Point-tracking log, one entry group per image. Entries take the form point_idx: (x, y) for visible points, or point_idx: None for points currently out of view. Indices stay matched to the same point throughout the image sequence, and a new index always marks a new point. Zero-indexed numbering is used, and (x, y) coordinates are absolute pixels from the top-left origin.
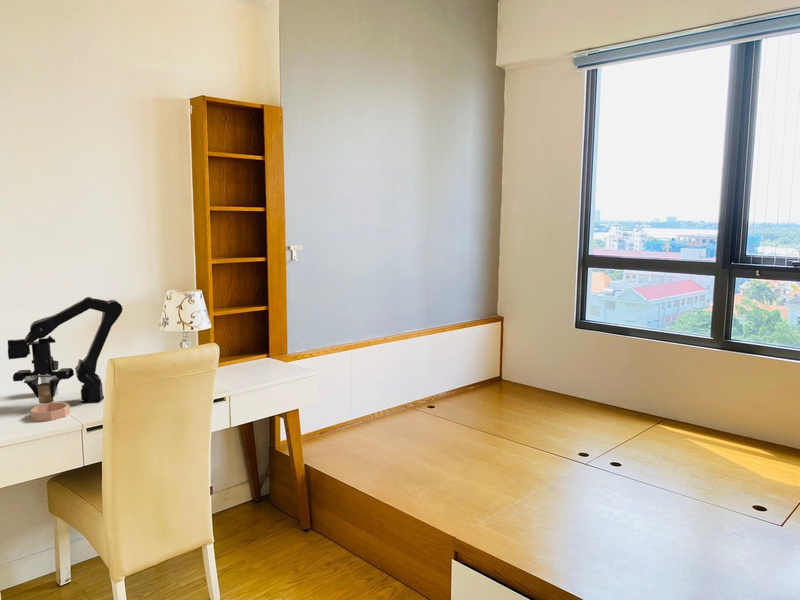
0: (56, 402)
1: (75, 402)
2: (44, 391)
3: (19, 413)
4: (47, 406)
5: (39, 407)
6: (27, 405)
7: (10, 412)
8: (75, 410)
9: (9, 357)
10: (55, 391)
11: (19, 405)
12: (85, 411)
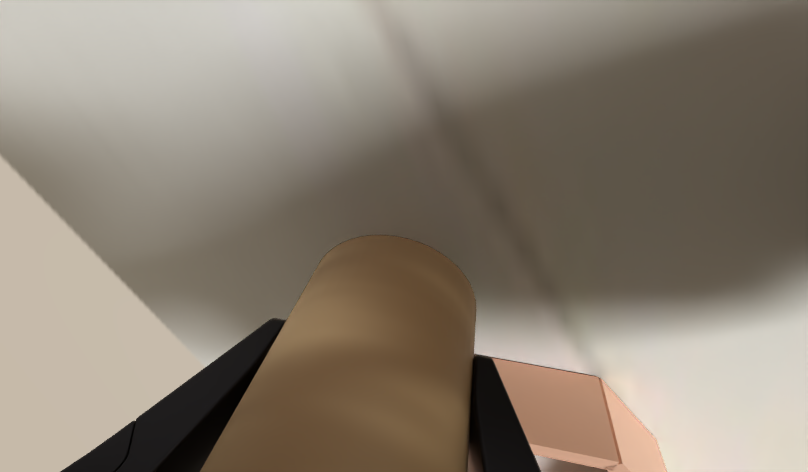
0: (546, 448)
1: (770, 149)
2: None
3: (242, 329)
4: None
5: None
6: (141, 115)
7: (151, 287)
8: (712, 412)
9: None
10: (521, 442)
11: (46, 89)
12: (802, 458)
